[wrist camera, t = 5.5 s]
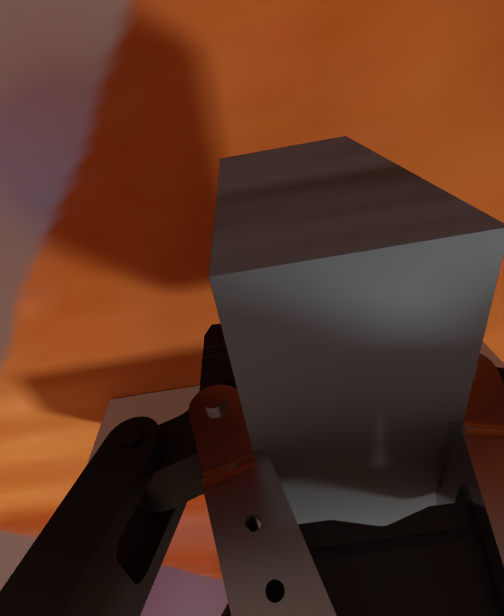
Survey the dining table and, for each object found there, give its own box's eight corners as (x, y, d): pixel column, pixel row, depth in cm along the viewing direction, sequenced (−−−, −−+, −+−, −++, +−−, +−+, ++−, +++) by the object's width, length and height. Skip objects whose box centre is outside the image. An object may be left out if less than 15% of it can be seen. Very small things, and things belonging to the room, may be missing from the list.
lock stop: (220, 158, 12) (209, 276, 5) (345, 136, 11) (509, 226, 5) (263, 382, 17) (286, 584, 10) (349, 369, 17) (428, 565, 10)
